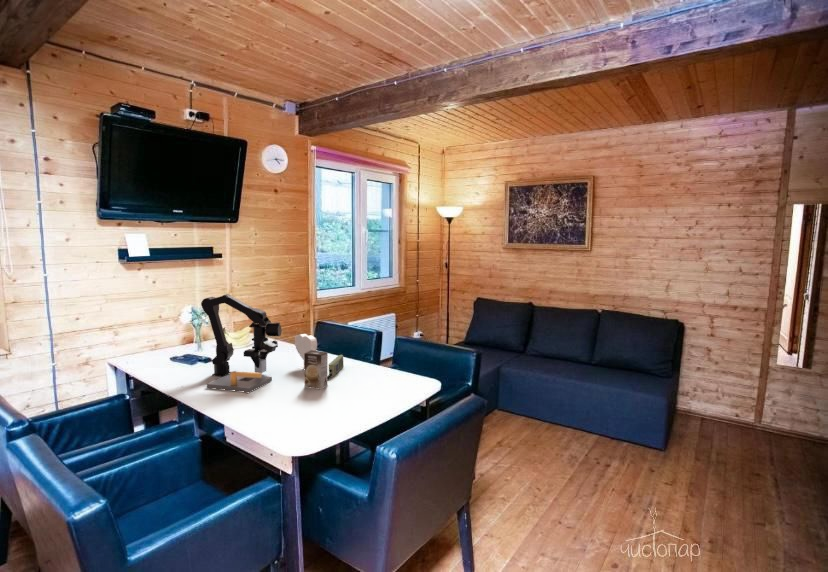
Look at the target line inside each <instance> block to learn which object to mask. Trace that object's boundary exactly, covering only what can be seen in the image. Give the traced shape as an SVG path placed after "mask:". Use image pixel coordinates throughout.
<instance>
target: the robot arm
mask: <svg viewBox="0 0 828 572" xmlns="http://www.w3.org/2000/svg"><path fill="white" fill-rule="evenodd" d="M200 304H201V305H200V306H201V308H202V309H203V312H204V313H205V315H207V317H208V320H209V322H210V326H211V329H212V332H213V336H214V340H215V343H216V347H215V353H216V354H215V356H214V357H213V358H212V359H211V363H212V365H213V369H214V370H213V371H214V373H212V376H214V375H215V377H224V376H227V375H229V373H230V374H231V372H232V371H230V370H231V369H230V365H229V364H230V362H229V361H230V360H231V358H232V357H233V355H234V351H235V349H234V348H233V343H232V342H230V343H229V342H228V341H227V337H226V335H225V332H224V329H223V324H222V321H221V317H220V314H219V313H220V312H219V311H220V305H221V304H226V305H227V306H230V307H231V308H233V309H234V310H236V311H238V312H240V313H242V314H244V315H245V316H246V317H247V318H248V319H249V320H250V321H252V322H251V324H250V325H249V326H248V328H253V338H251V341H253V346H251V348H249V349H246V350H244V351H243V357H247V358H250V359H251V360H252V362H253V364H254V367H255V366H256V367H257V368H259V361H260V359H266V360H267V357H268V355H269V354H270V353H273V352H275V351H276V349H277V348H278V347H279V346H278V345H279V343H278V340H277V339H273V340H272V341H271V340H270V341H269V337H281V336H282V330H283V329H282V326H281V322H271V320H270V319H269V317H268V315H267V312H266V311H264V310H263V309H259V308H255V307H251V306H249V305H248V304H246V303H244V302H243V301H241V300H238V299H237V298H235V297H234V296H232V295H231V294H229V293H228V294H224V295H221V296H218V297H215V296H210V297H206V298H204V299H202V301H201V302H200Z"/></svg>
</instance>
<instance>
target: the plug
mask: <svg viewBox="0 0 828 572" xmlns="http://www.w3.org/2000/svg"><path fill="white" fill-rule="evenodd" d="M265 372H267V358H266V359H260V361H259V368H257V367H256V366H255V365H254V373H262V374H263V373H265Z"/></svg>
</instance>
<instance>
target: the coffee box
mask: <svg viewBox="0 0 828 572" xmlns="http://www.w3.org/2000/svg"><path fill="white" fill-rule="evenodd" d="M303 366H304V369H305V370H303V371H304V372H303V373H304V388H309V387H311V389H316V388H319V389H318V390H321V389H324V388H326V387H327V386H328V379H327V376H328V351H320V350H316V351H314V350H311V351H308V352H306V353H304V360H303ZM323 387H324V388H323Z"/></svg>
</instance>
